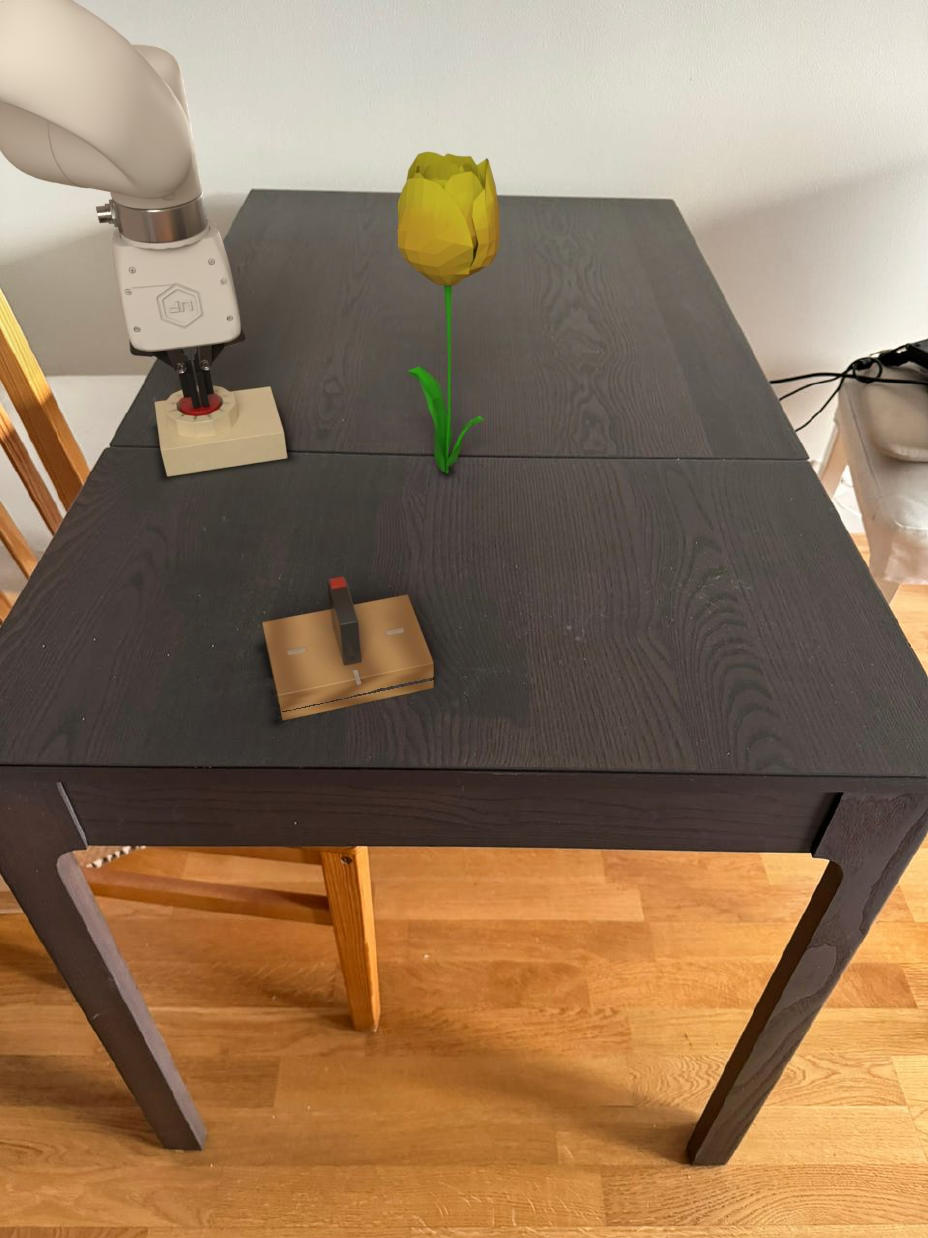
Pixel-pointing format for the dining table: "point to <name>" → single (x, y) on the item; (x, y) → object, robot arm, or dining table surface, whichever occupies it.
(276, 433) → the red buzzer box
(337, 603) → the black block
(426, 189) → the flower
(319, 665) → the dial panel
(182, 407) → the red button
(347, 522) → the dining table surface
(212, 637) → the dining table surface
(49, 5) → the robot arm
